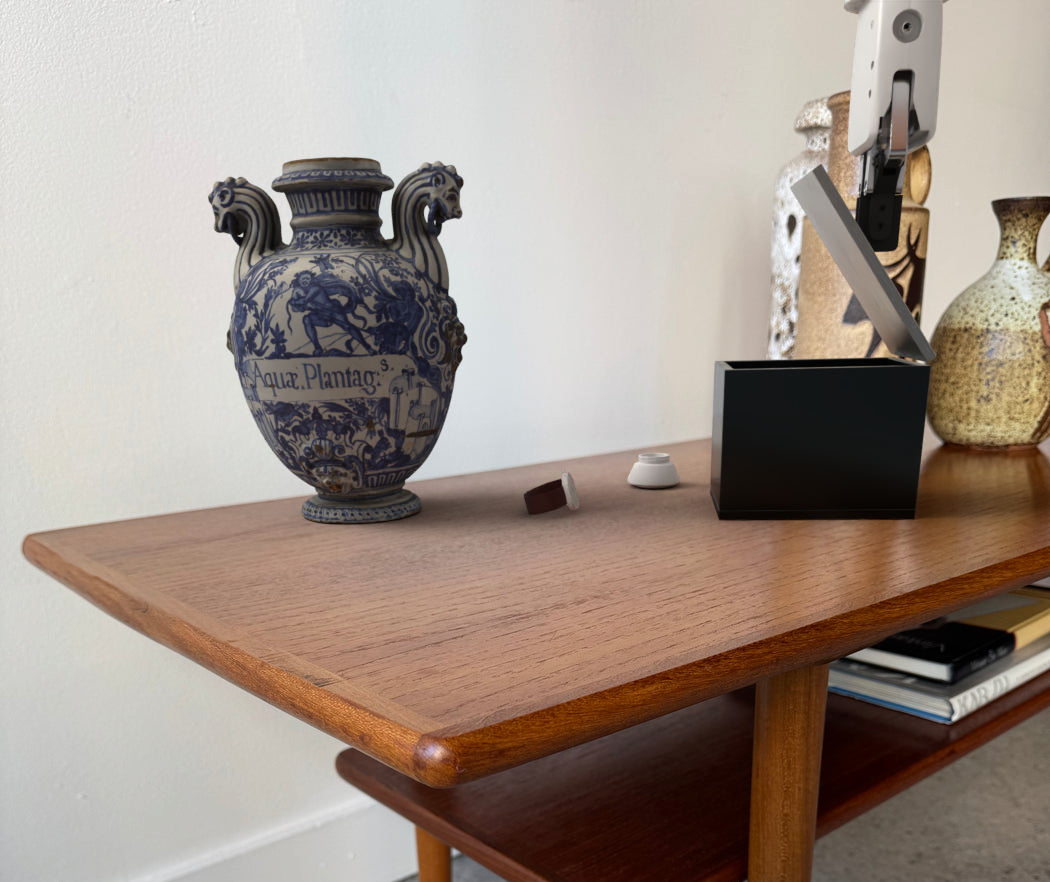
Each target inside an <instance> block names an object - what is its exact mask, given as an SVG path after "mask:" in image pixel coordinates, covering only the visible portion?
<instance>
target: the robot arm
mask: <svg viewBox="0 0 1050 882" xmlns="http://www.w3.org/2000/svg"><path fill="white" fill-rule="evenodd" d="M948 1H949V0H844V1H843V2H844V4H843V9H844V10H845V11H846V12H847V13H851V14H855V15H857V23H856V31H855V42H854V46H853V47H854V51H853V53H854V54H853V61H852V62H853V64H852V74H851V84H850V97H849V110H848V126H847V127H848V129H847V150H848V152H849V154H850V155H851V156H852V157H854V158H857V157H859V171H858V189H857V197H856V203H855V204H856V205H855V213H854V216H855V217H854V219H855V221H856V222H857V224H858V226H859V227H860V229H861V231H862V232H863V234H864V236H865V237H866V239H867V241H868V242H869V244H870V246H871V247H872V249H873V251H874V252H875V253H890V252H895V251H896V250H897V249H898V248H899V239H900V231H901V221H902V209H903V201H904V200H903V197H904V195H903V194H902V193H903V192H904V191H903V190H904V184H905V176H906V167H907V160H908V155H909V154H912V153H914V152H915V151H917V150H919V149H921V148H923V147H924V146H925V145H927V144H928V143H929V142H931V141H932V140H933V138H934V137H935V135H936V131H937V121H938V109H939V108H938V107H939V95H940V80H941V79H940V78H941V66H942V65H941V64H942V63H941V62H942V48H943V47H942V46H943V24H944V23H943V20H944V19H943V18H944V16H943V15H944V14H943V13H944V12H943V11H944V7H943V6H944V4H946V3H947V2H948Z"/></svg>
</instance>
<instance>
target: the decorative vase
mask: <svg viewBox="0 0 1050 882" xmlns="http://www.w3.org/2000/svg"><path fill="white" fill-rule="evenodd" d="M457 171H458V170H457V168H456V166H455V165H453V164H448V165H445V164H444V162H442V161H440V160H435V161H434V162H433V163H430V162H428V161H426V162H423V163H421V165H420V166H419V167H418V168H417V170H416V169H415V170H414V171H412V172H410V173H408V174H407V175H406V176H405V177H403V179H401V180H400V182H399V183H398V184H397V186H396V188H395V182H394V180H393V179H392V177H390V176H389V175H387V174H385V173H383V171H382V166H381V162H379V161H378V160H376V159H373V158H370V157H369V158H368V157H358V156H357V157H356V156H355V157H353V156H352V157H350V156H340V157H337V156H325V157H313V158H302V159H294V160H289V161H287V162H284V163H283V164H282V169H281V175H280V176H277V177H275V178H274V179H273V180H272V181H271V185H270V188H271V190H273V192H275V193H279V194H284V196H285V198H286V200H287V203H288V205H289V209H290V212H291V219H290V221H289V222H288V223H289V226H290V229H291V230H292V231H291V232H292V237H291V240H290V242H289V243H288V244H287V243H285V242H284V241H283V235H282V223H281V216H280V212H279V209H278V207H277V204H276V202H275V201H274V200H273V198H272V197H271V196H270V195H269V194H268V192H266V191H265V190H264V189H262V188H261V187H260V186H258V185H255V184H253V183H251V182H249V181H248V180H247V178H245V177H244V176H239V177H237V178H235V177H233V176H227V177H226V178H225V180H224V181H219V180H216V181H214V183H213V185H212V191H211V192H210V193H209V194H208V196H207V200H208V203H209V204H210V206H211V208H212V211H213V215H214V223H213V230H214V231H215V232H216V233H218V234H228V235H230V237H231V238H232V240H233V241H234V243H235V244H236V245H237V246H238V250H237V254H236V256H235V259H234V260H235V261H234V265H233V276H232V279H233V281H232V282H233V293H234V297H235V299H234V303H233V308H232V312H231V315H230V322H229V328H228V330H227V332H226V348H227V350H228V351H229V352H230V353H231V354H232V355H233V358H234V359H233V360H234V362H233V363H234V368H235V370H236V372H237V376H238V379H239V380H238V381H239V383H240V387H241V390H242V393H243V397H244V399H245V402H246V405H247V407H248V409H249V411H250V414H251V415H252V419H253V420H254V422H255V424H256V426H257V428H258V430H259V433H260V434H261V435H262V437H263V439H264V440H265V442H266V443H267V446H268V447H269V448H270V450H271V451H272V452H273V454H274V455H275V457H276V458H277V459H278V460H279V461H280V462H281V463H282V465H283V466H284V467H285V468H286V469H287V470H288V471H289V472H290V473H292V474H293V475H294V476H295V477H297V478H298V479H299V480H301V481H302V482H304V483H306V484H307V485H309V486H311V487H313V488H314V490H315V493H317V494H315V495H313V496H311V497H310V498H308V499H306V500H305V501H304V503H303V504H302V505H301V506H302V507H301V514H302V515H301V516H302V517H303V518H304V519H306V520H308V521H311V522H315V523H322V524H369V523H379V522H380V523H381V522H389V521H394V520H399V519H404V518H406V517H410V516H413V515H415V514H417V513H419V512H420V510H422V508H423V503H422V500H421V498H420V496H419V495H418V494H416V493H415V492H412V490H410V489H407V488H403V487H404V486H405V485H406V480H408V479H409V478H411V477H412V475H414V474H415V473H416V472H417V471H418V470H419V469H420V468H421V467H422V466H423V465H424V464H425V462H426V461H427V460H428V459H429V456H430V455H431V454H432V453H433V450H434V448H435V446H436V444H437V443H438V440H439V438H440V436H441V433H442V431H443V428H444V425H445V422H446V419H447V415H448V413H449V409H450V407H451V406H450V405H451V401H452V397H453V394H454V393H453V392H454V389H455V382H456V374H457V370H458V369H459V366H460V365H461V363H462V361H463V359H464V358H463V354H462V350H463V347H464V346H465V345H466V344H467V342H468V335H467V334H466V332H465V331H466V328H465V327H466V326H465V325H464V324H463V323H462V322H461V320H460V318H459V316H458V306H457V302H456V301H455V299H454V297H452V296H450V295H449V292H450V291H449V290H450V273H449V266H448V262H447V258H446V255H445V252H444V249H443V246H442V245H441V243H440V240H439V238H438V237H439V236H440V235H441V233H442V229H443V224H444V223H446V222H447V221H450V220H454V219H456V220H460V219H461V218H462V217H463V210H462V207H461V190H462V188H463V186H465V185H464V184H465V181H464V178H463V177H462V176H461V175H459V174H458V172H457ZM394 188H395V190H394V192H393V194H392V198H391V205H390V211H391V212H390V213H391V223H392V232H393V233H392V234H393V237H392V238H386V239H385V237H384V236H383V235H382V232H381V228H382V227H383V223H384V221H383V219H382V218H381V216H380V205H381V201H382V196H383V193H385V192H388V191H391V190H393V189H394ZM426 207H428V209H429V210H428V214H427V220H426V216H425V210H426ZM241 235H242V236H241Z"/></svg>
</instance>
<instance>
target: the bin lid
mask: <svg viewBox="0 0 1050 882" xmlns="http://www.w3.org/2000/svg"><path fill="white" fill-rule="evenodd" d="M789 189H790V191H791V193H792V194H793V196H794V197H795V199H796V201H797V203H798V204H799V206H800V207H801V209H802V211H803V212H804V214H805V216H806V217H807V219H808V220H809V222H810V224H811V225H812V227H813V228H814V230H815V232H816V234H817V235H818V238H820V240H821V242H822V243H823V245H824V247H825V248H826V250H827V251H828V253H829V255H830V257H831V258H832V260H833V261H834V263H835V265H836V266H837V268H838V270H839V271H840V273H841V275H842V276H843V278H844V279H845V281H846V283H847V284H848V286H849V288H850V289H851V291H852V293H853V294H854V297H856V300H857V301H858V302H859V304H860V306H861V307H862V309H863V311H864V312H865V314H866V315H867V318H868V319H869V321H870V322H871V323H872V326H873V327H874V329H875V330H876V332H877V333H878V335H879V337H880V339H881V340H882V342H883V344H884V345H885V346H886V348H887V350H888V351H889V353H890V354H891V355H893V356H897V357H901V358H902V357H903V358H906V359H911V360H915V361H920V362H923V363H924V362H925V363H929V362H931V361H932V360H934V359H935V358H936V357H937V353H936V352H935V350H934V349H933V348H932V346H931V344H930V342H929V340H928V339H927V337H926V336H925V334H924V332H923V331H922V329H921V327H920V326H919V324H918V322H917V321H916V319H915V317H914V315H913V314H912V312H911V311H910V309H909V307H908V306H907V304H906V302H905V301H904V299H903V297H902V295H901V294H900V293H899V291H898V289H897V287H896V286H895V284H894V282H893V280H892V279H891V277H890V276H889V274H888V272H887V271H886V269H885V267H884V266H883V264H882V262H881V260H880V259H879V257H878V255H877V254H876V252H874V251H873V249H872V247H871V246H870V244H869V242H868V241H867V239H866V237H865V236H864V234H863V232H862V231H861V229H860V227H859V226H858V224H857V222H856V221H855V217H854V216H853V214H852V211H850V208H849V207H848V205H847V204H846V202H845V200H844V199H843V197H842V196H841V194H840V192H839V190H838V189H837V187H836V185H835V184H834V182H833V180H832V179H831V176H829V174H828V172H827V170H826V169H825V167H824V166H823V164H822V163H820V164H818V165H817V166H815V167H814V168H813V169H812V170H810V171H809V172H808V173H806V174H805V175H804V176H802V177H801V178H800V179H798V180H797V181H795V182H794V183H793V184H791V186H790V187H789Z"/></svg>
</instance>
